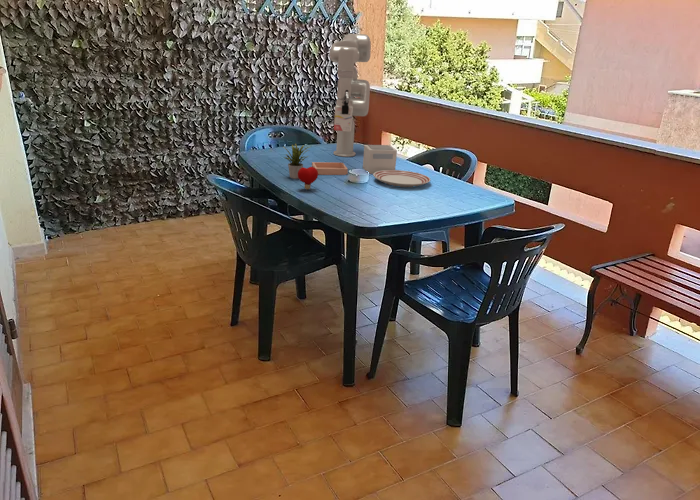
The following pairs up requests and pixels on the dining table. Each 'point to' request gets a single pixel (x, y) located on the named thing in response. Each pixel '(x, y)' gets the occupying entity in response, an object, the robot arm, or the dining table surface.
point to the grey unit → (379, 158)
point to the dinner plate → (401, 178)
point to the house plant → (295, 161)
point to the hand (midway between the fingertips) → (343, 112)
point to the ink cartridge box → (343, 117)
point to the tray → (330, 168)
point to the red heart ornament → (308, 176)
